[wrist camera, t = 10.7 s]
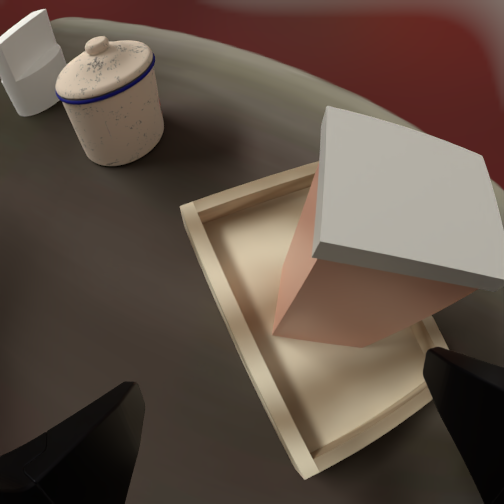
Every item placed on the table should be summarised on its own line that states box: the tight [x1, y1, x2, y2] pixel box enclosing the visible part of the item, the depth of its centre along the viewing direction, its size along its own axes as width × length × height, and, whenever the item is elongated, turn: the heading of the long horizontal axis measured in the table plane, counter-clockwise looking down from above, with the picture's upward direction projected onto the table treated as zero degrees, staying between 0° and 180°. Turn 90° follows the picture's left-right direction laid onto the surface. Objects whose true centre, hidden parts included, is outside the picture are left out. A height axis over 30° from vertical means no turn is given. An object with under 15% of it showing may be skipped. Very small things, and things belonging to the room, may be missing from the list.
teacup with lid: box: [55, 36, 164, 166], centre depth 24 cm, size 12×9×12 cm
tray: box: [180, 161, 449, 480], centre depth 22 cm, size 20×13×3 cm, turn 24°
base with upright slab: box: [0, 9, 66, 116], centre depth 28 cm, size 9×9×12 cm
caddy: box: [272, 106, 504, 348], centre depth 16 cm, size 6×7×14 cm
